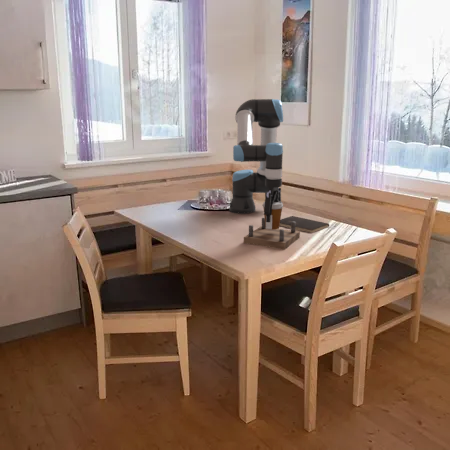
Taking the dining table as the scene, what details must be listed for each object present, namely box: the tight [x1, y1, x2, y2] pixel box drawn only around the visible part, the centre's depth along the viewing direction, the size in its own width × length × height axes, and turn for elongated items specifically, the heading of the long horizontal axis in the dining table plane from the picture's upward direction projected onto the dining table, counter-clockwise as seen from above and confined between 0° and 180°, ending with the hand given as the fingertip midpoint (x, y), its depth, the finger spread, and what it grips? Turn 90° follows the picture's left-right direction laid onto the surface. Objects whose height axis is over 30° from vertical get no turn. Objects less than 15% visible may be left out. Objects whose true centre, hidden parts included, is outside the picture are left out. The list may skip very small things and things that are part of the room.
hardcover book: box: [279, 215, 330, 234], centre depth 256 cm, size 16×23×2 cm
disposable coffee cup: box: [262, 201, 284, 230], centre depth 229 cm, size 10×10×12 cm
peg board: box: [243, 217, 301, 250], centre depth 231 cm, size 20×20×8 cm
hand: (272, 226), depth 230 cm, fingers closed on disposable coffee cup, 8 cm apart
